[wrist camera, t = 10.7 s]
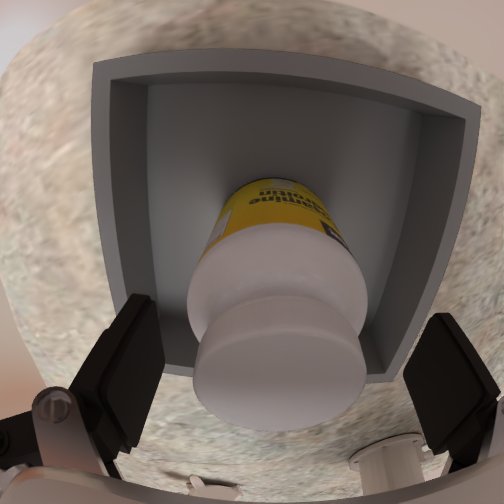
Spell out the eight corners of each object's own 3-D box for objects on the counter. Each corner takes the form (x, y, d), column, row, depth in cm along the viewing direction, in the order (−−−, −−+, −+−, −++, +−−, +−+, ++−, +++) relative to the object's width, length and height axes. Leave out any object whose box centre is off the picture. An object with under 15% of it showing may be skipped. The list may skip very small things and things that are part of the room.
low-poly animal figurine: (235, 468, 43) (157, 477, 37) (250, 505, 36) (167, 518, 30) (226, 479, 47) (156, 486, 41) (238, 511, 40) (165, 522, 34)
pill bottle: (347, 233, 17) (428, 385, 7) (267, 291, 19) (266, 457, 9) (279, 149, 15) (313, 230, 5) (196, 221, 17) (116, 373, 7)
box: (428, 103, 14) (481, 106, 9) (373, 331, 22) (392, 381, 17) (140, 73, 14) (93, 62, 9) (153, 317, 22) (131, 366, 17)
